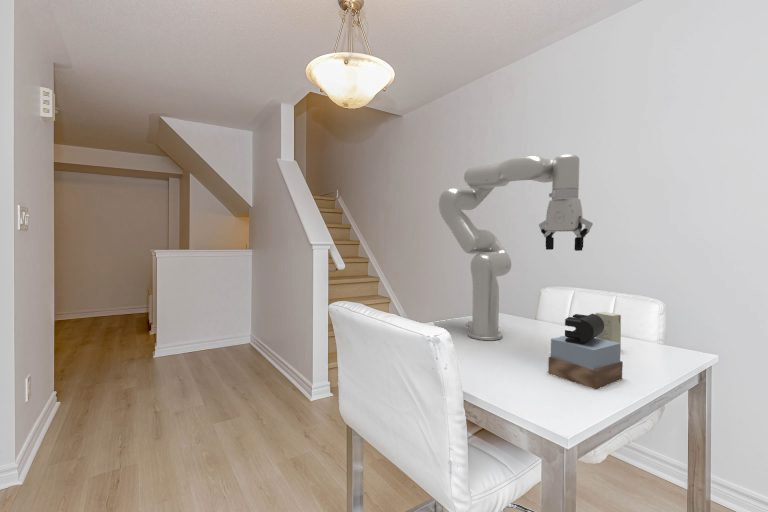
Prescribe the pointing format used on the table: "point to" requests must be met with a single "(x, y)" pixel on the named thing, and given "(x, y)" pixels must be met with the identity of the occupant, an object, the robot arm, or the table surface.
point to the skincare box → (610, 327)
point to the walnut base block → (585, 373)
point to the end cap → (583, 328)
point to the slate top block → (586, 352)
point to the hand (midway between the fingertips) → (563, 250)
